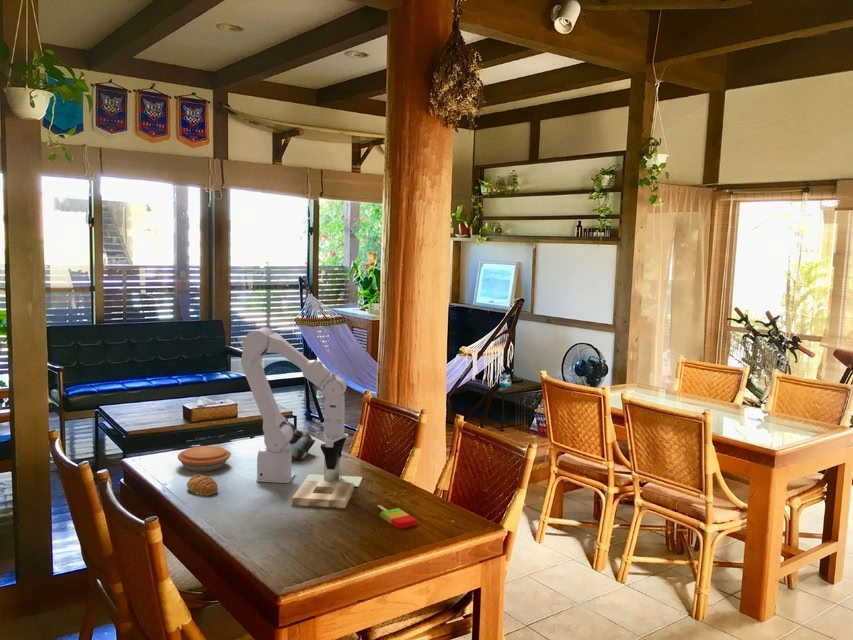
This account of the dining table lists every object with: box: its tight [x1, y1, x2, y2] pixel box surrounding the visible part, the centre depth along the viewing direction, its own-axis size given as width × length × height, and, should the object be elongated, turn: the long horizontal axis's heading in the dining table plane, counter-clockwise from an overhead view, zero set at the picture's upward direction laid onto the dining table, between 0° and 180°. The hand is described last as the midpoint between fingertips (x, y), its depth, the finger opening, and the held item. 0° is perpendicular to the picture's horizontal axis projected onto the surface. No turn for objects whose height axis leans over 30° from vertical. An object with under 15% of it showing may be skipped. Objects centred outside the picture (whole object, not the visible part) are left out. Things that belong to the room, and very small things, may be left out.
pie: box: [177, 445, 232, 473], centre depth 216 cm, size 15×16×5 cm
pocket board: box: [291, 479, 355, 509], centre depth 193 cm, size 14×14×2 cm
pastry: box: [186, 474, 219, 496], centre depth 194 cm, size 9×7×4 cm
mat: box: [304, 473, 364, 487], centre depth 206 cm, size 16×8×1 cm, turn 87°
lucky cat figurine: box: [263, 417, 316, 463], centre depth 228 cm, size 15×12×14 cm
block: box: [323, 453, 343, 482], centre depth 205 cm, size 4×4×7 cm
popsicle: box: [377, 504, 417, 529], centre depth 181 cm, size 6×15×2 cm, turn 33°
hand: (333, 465), depth 205 cm, fingers open, 7 cm apart
